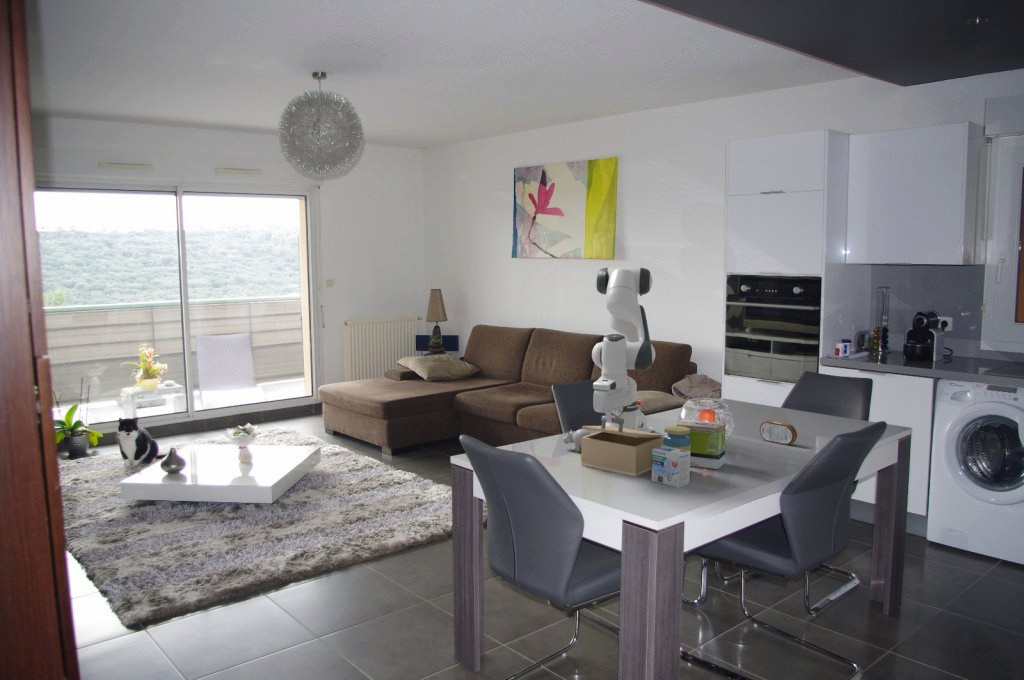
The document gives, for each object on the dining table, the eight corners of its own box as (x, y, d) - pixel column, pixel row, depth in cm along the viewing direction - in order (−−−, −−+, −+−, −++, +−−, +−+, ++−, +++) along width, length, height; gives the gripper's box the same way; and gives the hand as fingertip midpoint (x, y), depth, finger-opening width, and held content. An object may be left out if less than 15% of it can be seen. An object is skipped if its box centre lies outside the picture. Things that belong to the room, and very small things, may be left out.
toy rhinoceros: (567, 446, 287) (567, 424, 286) (595, 450, 281) (595, 428, 280) (558, 450, 281) (558, 428, 280) (586, 454, 275) (586, 432, 274)
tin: (797, 445, 286) (797, 424, 285) (792, 447, 284) (793, 425, 283) (762, 438, 297) (763, 418, 296) (758, 440, 295) (758, 419, 294)
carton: (608, 454, 274) (608, 428, 273) (661, 464, 260) (662, 437, 259) (581, 465, 260) (581, 437, 259) (635, 476, 246) (635, 447, 245)
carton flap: (609, 428, 273) (610, 413, 273) (662, 436, 259) (663, 421, 259) (581, 428, 259) (583, 412, 259) (636, 437, 245) (637, 421, 245)
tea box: (725, 463, 262) (726, 422, 260) (717, 470, 253) (718, 428, 252) (684, 457, 269) (684, 418, 268) (675, 464, 261) (676, 423, 259)
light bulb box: (650, 480, 242) (651, 448, 241) (662, 476, 246) (663, 445, 245) (678, 487, 234) (679, 454, 233) (690, 483, 239) (691, 450, 238)
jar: (660, 467, 257) (661, 425, 255) (687, 467, 256) (688, 425, 255) (665, 475, 248) (666, 431, 246) (692, 475, 247) (693, 431, 246)
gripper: (622, 377, 263) (621, 415, 264) (590, 384, 247) (589, 424, 249) (637, 378, 259) (637, 417, 260) (606, 386, 243) (605, 427, 245)
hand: (613, 421), depth 255 cm, fingers open, 3 cm apart
